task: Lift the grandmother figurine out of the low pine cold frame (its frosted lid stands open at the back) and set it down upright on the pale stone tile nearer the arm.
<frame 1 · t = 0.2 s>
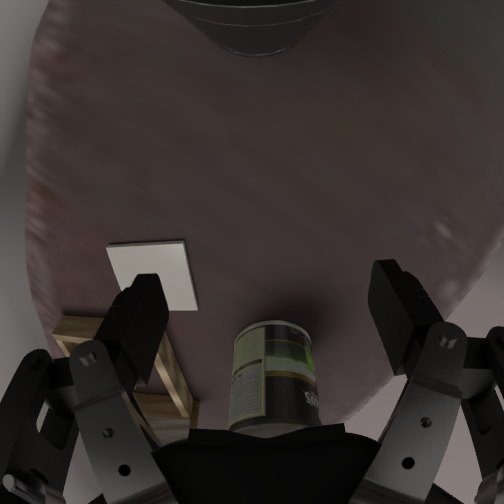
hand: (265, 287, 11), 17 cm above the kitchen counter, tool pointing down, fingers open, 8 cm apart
tile: (153, 277, 33), on the kitchen counter
cold frame: (131, 364, 42), on the kitchen counter
coffee can: (272, 345, 39), on the kitchen counter
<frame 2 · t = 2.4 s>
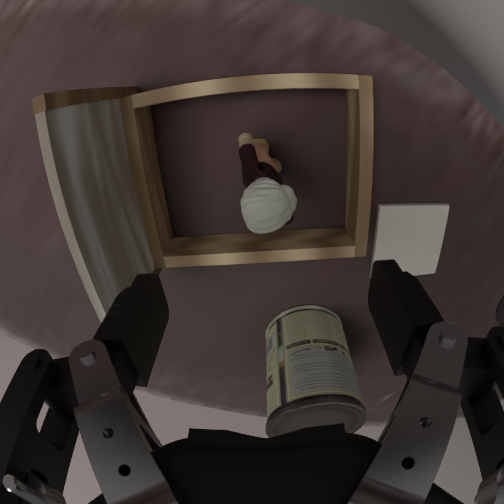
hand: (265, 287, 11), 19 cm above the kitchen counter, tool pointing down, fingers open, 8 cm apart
tile: (409, 240, 31), on the kitchen counter
cold frame: (252, 164, 27), on the kitchen counter
coffee can: (304, 332, 38), on the kitchen counter
grandmother figurine: (263, 163, 27), resting in cold frame
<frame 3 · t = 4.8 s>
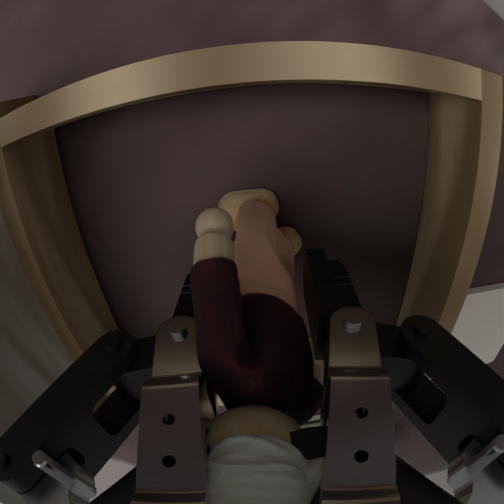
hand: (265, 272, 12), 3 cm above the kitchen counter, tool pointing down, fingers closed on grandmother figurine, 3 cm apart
tile: (475, 330, 18), on the kitchen counter
cold frame: (245, 238, 14), on the kitchen counter
grandmother figurine: (266, 235, 15), resting in cold frame, touching gripper
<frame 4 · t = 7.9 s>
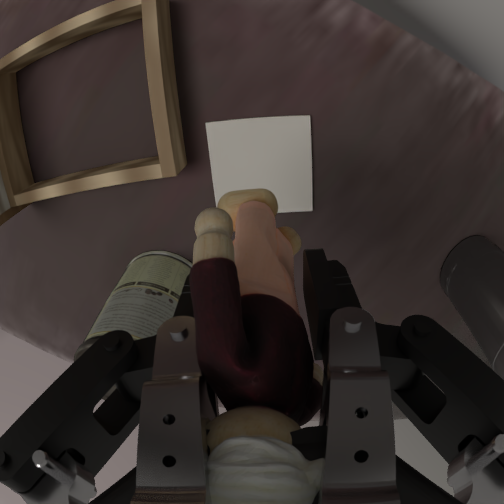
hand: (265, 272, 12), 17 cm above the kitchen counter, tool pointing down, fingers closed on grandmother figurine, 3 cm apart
tile: (261, 165, 27), on the kitchen counter
cold frame: (80, 103, 23), on the kitchen counter
coffee can: (165, 286, 34), on the kitchen counter
grandmother figurine: (265, 235, 14), point 14 cm above the kitchen counter, touching gripper
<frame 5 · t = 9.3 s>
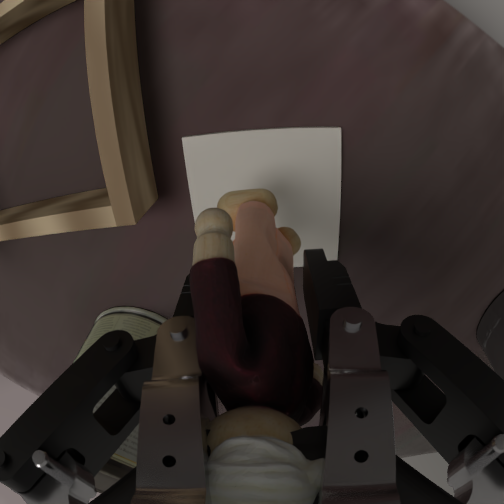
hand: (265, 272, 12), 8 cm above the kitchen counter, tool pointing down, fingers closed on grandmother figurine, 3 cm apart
tile: (266, 201, 18), on the kitchen counter
cold frame: (21, 115, 15), on the kitchen counter
coffee can: (143, 345, 26), on the kitchen counter
grandmother figurine: (265, 235, 14), point 5 cm above the kitchen counter, touching gripper
when the fingers open (4 cm above the kitchen counter, at t = 10.8 s): grandmother figurine stays where it is, resting on tile.
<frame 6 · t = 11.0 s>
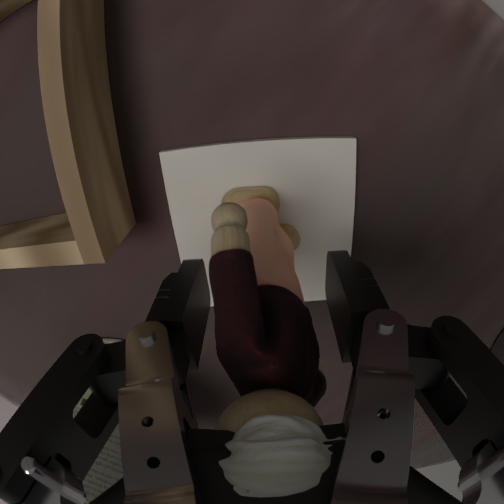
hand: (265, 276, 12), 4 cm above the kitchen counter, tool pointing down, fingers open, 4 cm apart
tile: (264, 227, 15), on the kitchen counter
coffee can: (132, 375, 23), on the kitchen counter
grandmother figurine: (266, 232, 15), resting on tile
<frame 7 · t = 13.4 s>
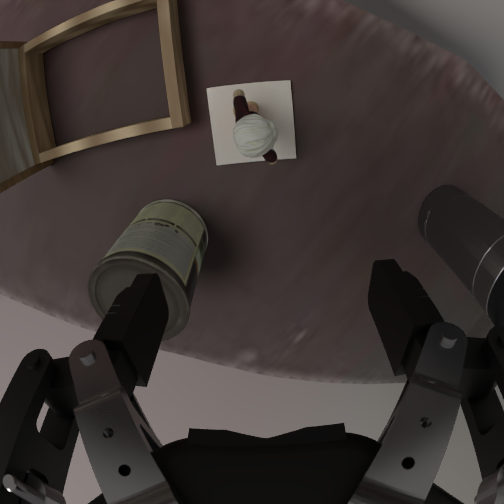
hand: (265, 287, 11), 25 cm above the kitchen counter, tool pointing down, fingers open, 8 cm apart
tile: (252, 121, 31), on the kitchen counter
cold frame: (102, 76, 28), on the kitchen counter
coffee can: (170, 234, 38), on the kitchen counter
grandmother figurine: (253, 122, 31), resting on tile
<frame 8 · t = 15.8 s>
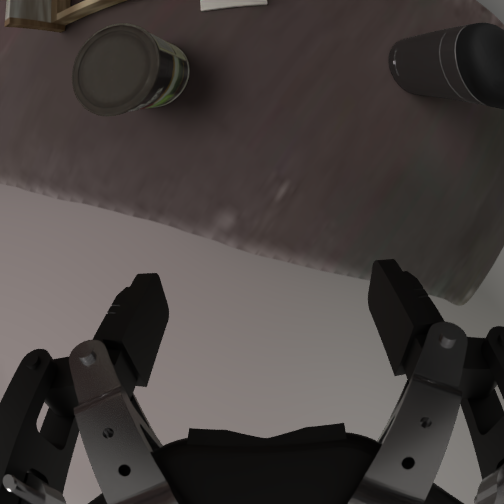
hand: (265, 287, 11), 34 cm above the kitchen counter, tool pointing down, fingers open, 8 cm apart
coffee can: (156, 73, 36), on the kitchen counter
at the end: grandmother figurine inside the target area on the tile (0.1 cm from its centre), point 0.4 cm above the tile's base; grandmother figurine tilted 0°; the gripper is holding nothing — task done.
